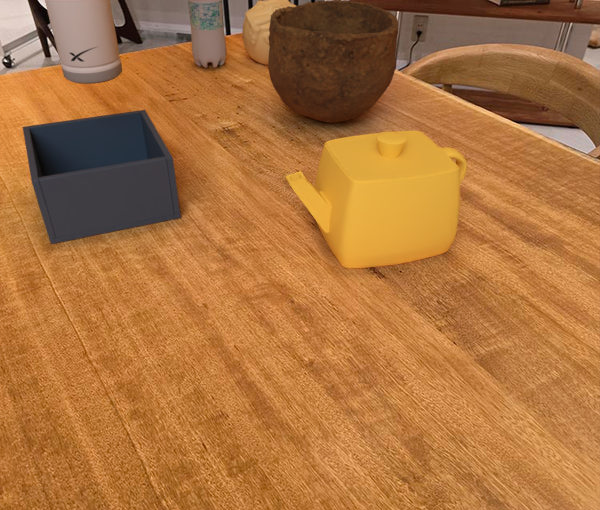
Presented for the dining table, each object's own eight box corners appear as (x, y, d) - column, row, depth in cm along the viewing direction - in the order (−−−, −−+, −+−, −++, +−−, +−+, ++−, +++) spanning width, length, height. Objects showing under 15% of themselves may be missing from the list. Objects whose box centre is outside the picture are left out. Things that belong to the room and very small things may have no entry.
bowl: (346, 155, 82) (354, 42, 72) (244, 121, 90) (239, 16, 81) (412, 114, 93) (426, 12, 84) (316, 87, 102) (319, -8, 92)
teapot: (302, 283, 59) (304, 177, 52) (272, 220, 68) (270, 122, 61) (479, 253, 64) (505, 152, 56) (429, 198, 73) (445, 104, 65)
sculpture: (250, 72, 107) (248, 8, 100) (238, 52, 116) (235, -8, 109) (311, 68, 110) (312, 4, 103) (294, 48, 118) (295, -11, 112)
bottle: (233, 60, 112) (226, -62, 100) (220, 71, 107) (211, -56, 95) (200, 57, 114) (189, -64, 101) (186, 68, 109) (173, -58, 96)
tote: (50, 244, 64) (31, 181, 59) (39, 184, 74) (22, 126, 69) (181, 218, 68) (173, 157, 64) (153, 165, 79) (144, 109, 74)
